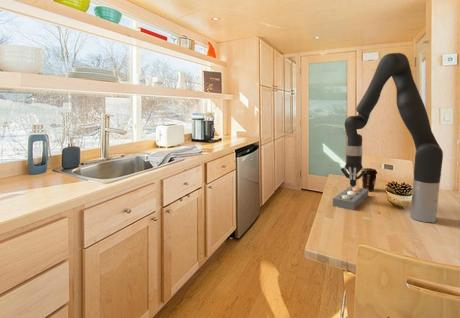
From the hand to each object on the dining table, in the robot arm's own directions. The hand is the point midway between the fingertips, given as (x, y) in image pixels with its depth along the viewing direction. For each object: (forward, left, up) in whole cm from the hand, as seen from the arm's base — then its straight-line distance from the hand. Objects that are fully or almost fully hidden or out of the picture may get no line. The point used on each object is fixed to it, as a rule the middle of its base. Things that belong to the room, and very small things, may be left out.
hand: (352, 186), depth 143 cm
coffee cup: (-2, -27, -8) cm, 28 cm away
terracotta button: (0, -9, -6) cm, 11 cm away
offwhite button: (0, 0, -6) cm, 6 cm away
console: (0, 0, -8) cm, 8 cm away
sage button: (0, +9, -6) cm, 11 cm away
